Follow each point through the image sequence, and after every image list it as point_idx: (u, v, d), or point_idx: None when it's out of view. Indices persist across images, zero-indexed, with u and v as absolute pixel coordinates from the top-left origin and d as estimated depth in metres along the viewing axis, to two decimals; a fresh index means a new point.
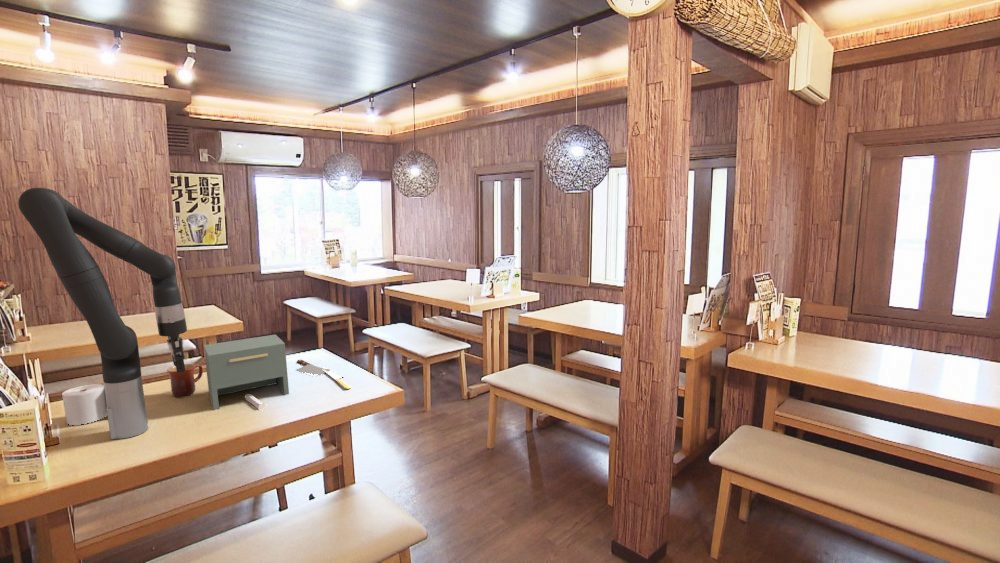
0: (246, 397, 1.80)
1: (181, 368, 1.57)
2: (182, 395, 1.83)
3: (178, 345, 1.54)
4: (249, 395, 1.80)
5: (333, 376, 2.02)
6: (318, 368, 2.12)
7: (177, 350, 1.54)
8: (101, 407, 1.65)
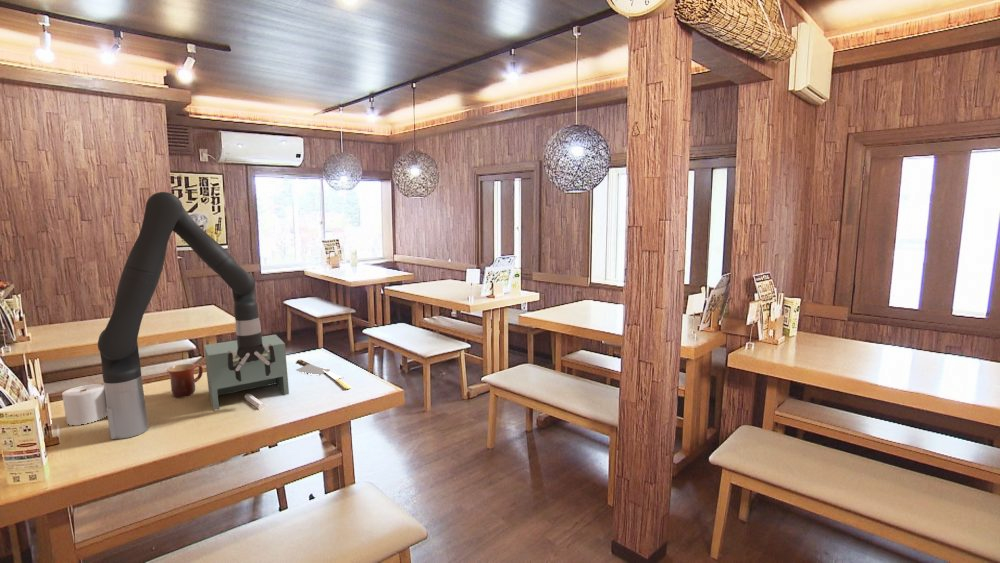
0: (246, 397, 1.80)
1: (269, 371, 1.75)
2: (182, 395, 1.83)
3: None
4: (249, 395, 1.80)
5: (333, 376, 2.02)
6: (318, 368, 2.12)
7: (273, 352, 1.75)
8: (101, 407, 1.65)
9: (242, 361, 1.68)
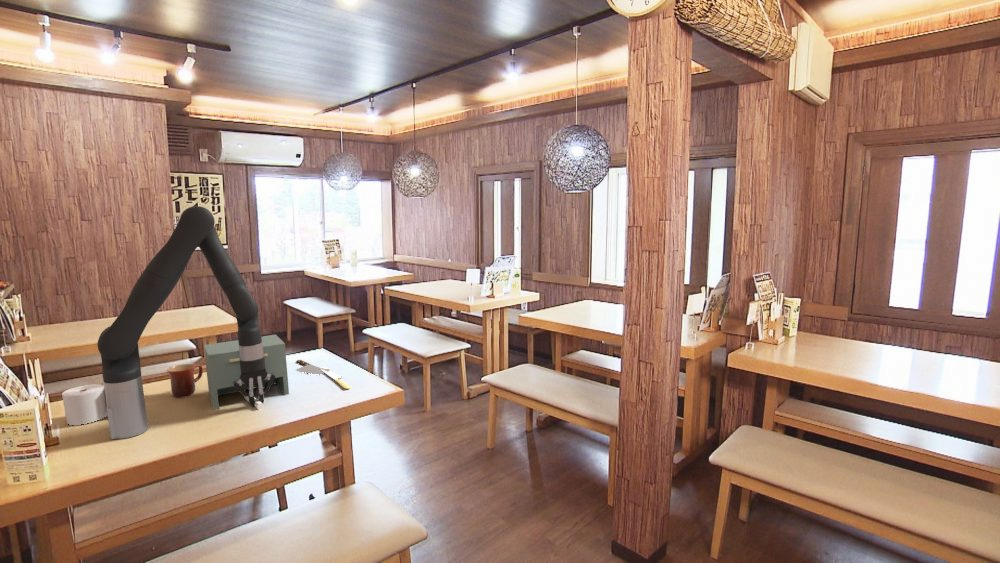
0: (245, 396, 1.79)
1: None
2: (182, 395, 1.83)
3: None
4: None
5: (332, 376, 2.02)
6: (318, 368, 2.12)
7: None
8: (101, 407, 1.65)
9: (250, 387, 1.71)
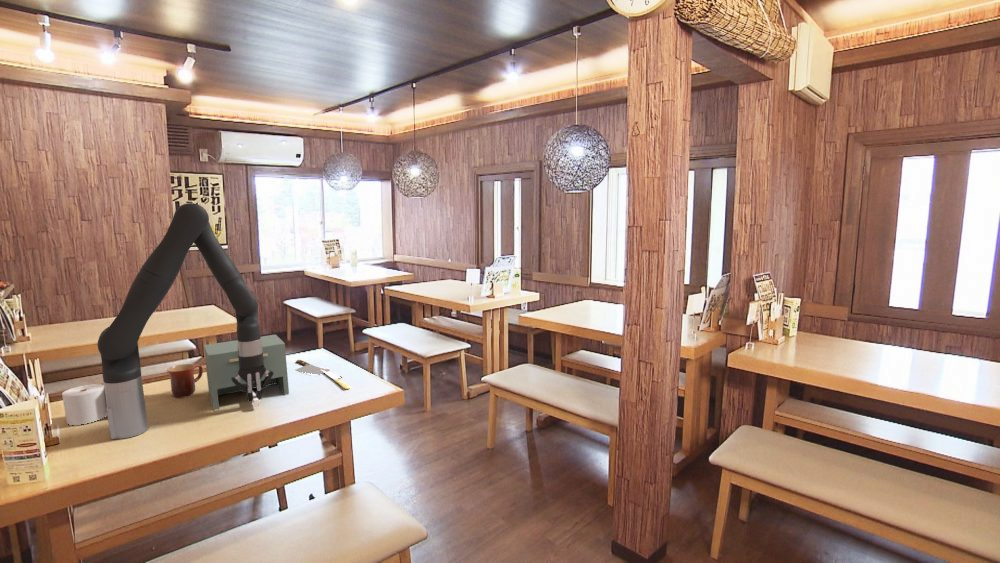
0: None
1: (260, 396, 1.75)
2: (182, 395, 1.83)
3: None
4: None
5: (332, 376, 2.02)
6: (318, 368, 2.12)
7: None
8: (101, 407, 1.65)
9: (249, 383, 1.70)
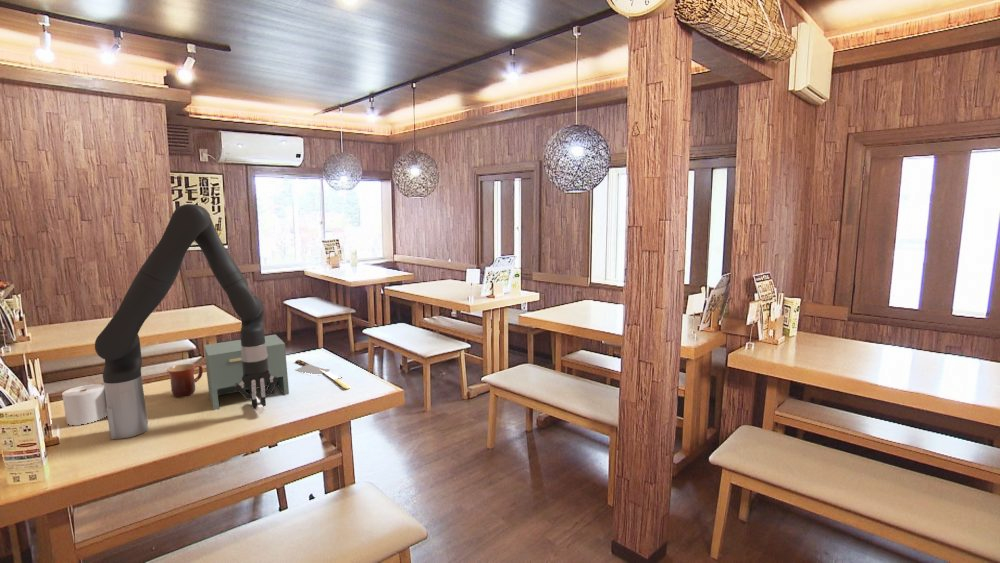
0: None
1: None
2: (182, 395, 1.83)
3: None
4: None
5: (331, 376, 2.02)
6: (317, 368, 2.12)
7: None
8: (101, 407, 1.65)
9: (253, 389, 1.64)
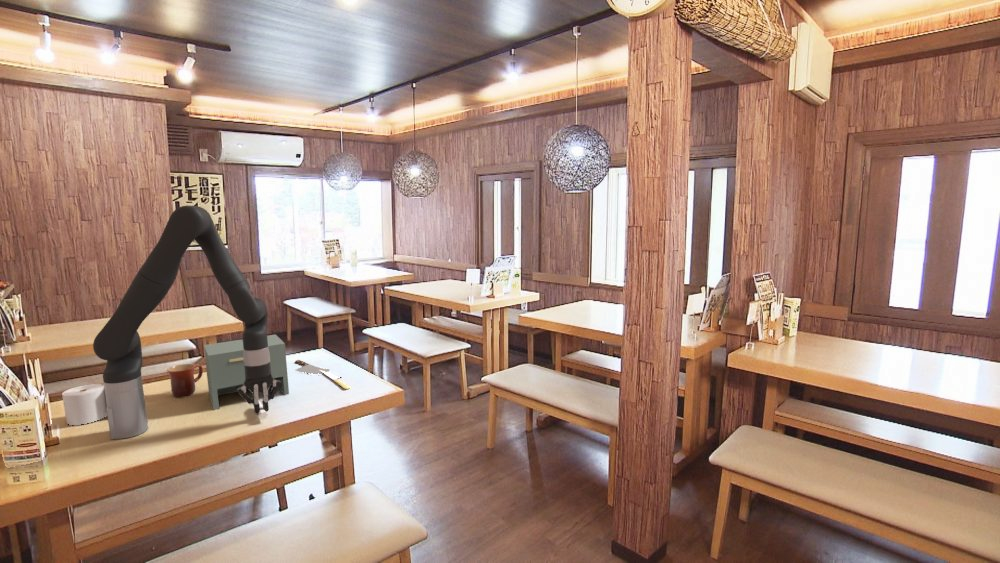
0: (253, 404, 1.70)
1: (267, 408, 1.65)
2: (182, 395, 1.83)
3: None
4: None
5: (331, 376, 2.01)
6: (317, 368, 2.12)
7: None
8: (101, 407, 1.65)
9: (255, 394, 1.60)
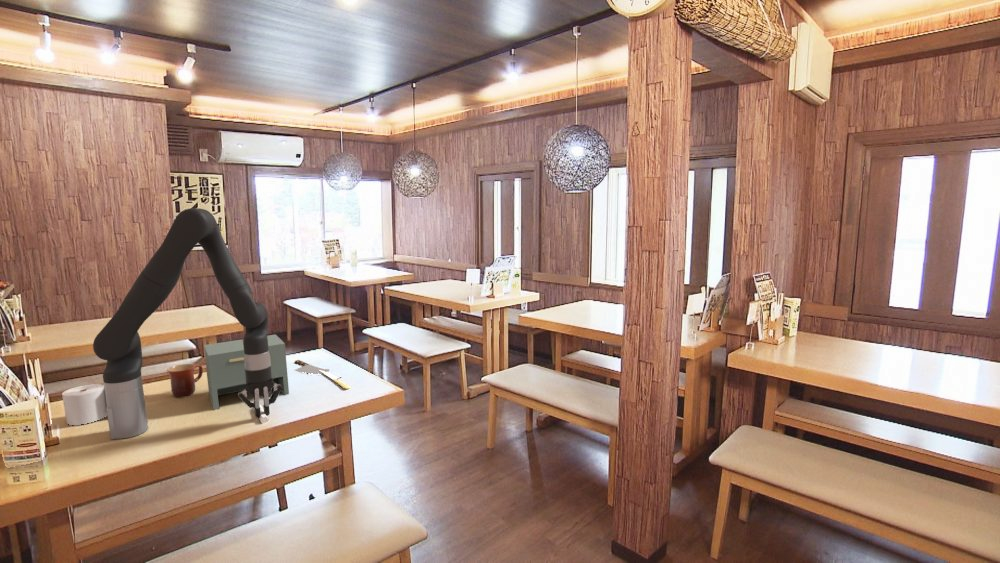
0: None
1: (268, 412, 1.65)
2: (182, 395, 1.83)
3: None
4: None
5: (331, 376, 2.01)
6: (317, 368, 2.12)
7: None
8: (101, 407, 1.65)
9: (256, 398, 1.60)
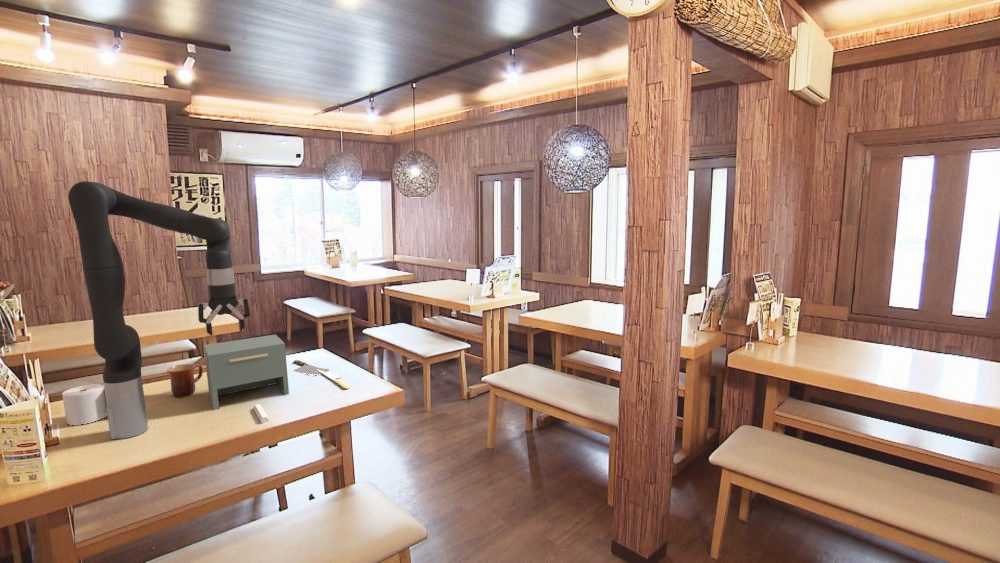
0: (254, 408, 1.70)
1: None
2: (182, 395, 1.83)
3: None
4: (257, 406, 1.70)
5: (330, 376, 2.01)
6: (316, 368, 2.12)
7: None
8: (101, 407, 1.65)
9: (213, 313, 1.58)
